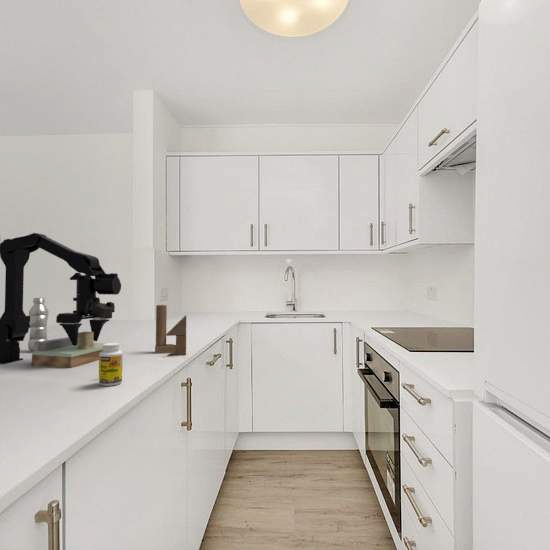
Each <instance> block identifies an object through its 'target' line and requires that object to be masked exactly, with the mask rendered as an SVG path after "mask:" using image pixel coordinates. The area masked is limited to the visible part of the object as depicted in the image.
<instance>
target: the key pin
mask: <svg viewBox="0 0 550 550" xmlns="http://www.w3.org/2000/svg"><path fill="white" fill-rule="evenodd" d="M93 338H94V332H91V331H81V332H78V349H89V348H93V342H94V340H93Z"/></svg>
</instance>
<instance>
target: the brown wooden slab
mask: <svg viewBox="0 0 550 550" xmlns="http://www.w3.org/2000/svg"><path fill="white" fill-rule="evenodd" d="M102 351H103V350H99V351H95V352H90V353H86V354H82V355H78V356H74V357H59V356H42V355H32V354H31V366H37V367H38V366H39V367H50V368H51V367H52V368H65V369H73V368H77V367H80V366H83V365H86V364H90V363H93V362H97V361H98V362H99V354H100V352H102Z"/></svg>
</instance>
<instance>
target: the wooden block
mask: <svg viewBox="0 0 550 550" xmlns="http://www.w3.org/2000/svg"><path fill="white" fill-rule="evenodd" d="M167 307H168V306H167V305H166V304H157V305H156V308H155V314H156V315H155V346H154V354H155V355H157V354H166V355H165V357H166V356H167V357H168V356H170V355H171V356H186V355H187V315H186V314H185V315H184V316H183V317H182V318H181V319H180V320H179V321H178V322H177V323H176V324H175V325H174V326H173V327H172V328H171V329H170V330H169V331H167V313H168V312H167V310H168V309H167ZM169 336H170V337H171V336H173V337H174V336H175V344H174V343H172V344H171V343H168V344H167V337H169Z"/></svg>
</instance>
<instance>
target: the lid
mask: <svg viewBox="0 0 550 550" xmlns="http://www.w3.org/2000/svg"><path fill="white" fill-rule="evenodd" d="M106 343H107V342H96V341H93V348H89V349H78V341H77V345H76V346H74V345H73V344H72V342H71V340H70V339H69V337H68V336H64V337H59V338H54V339H48V340H47V341H42V342H38V350H37V351H31V356H32V355H42V356H59V357H74V356H78V355H82V354H86V353H90V352H95V351H99V350H103V344H106Z"/></svg>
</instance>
